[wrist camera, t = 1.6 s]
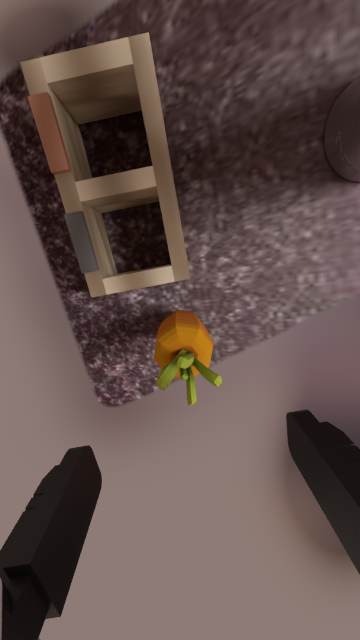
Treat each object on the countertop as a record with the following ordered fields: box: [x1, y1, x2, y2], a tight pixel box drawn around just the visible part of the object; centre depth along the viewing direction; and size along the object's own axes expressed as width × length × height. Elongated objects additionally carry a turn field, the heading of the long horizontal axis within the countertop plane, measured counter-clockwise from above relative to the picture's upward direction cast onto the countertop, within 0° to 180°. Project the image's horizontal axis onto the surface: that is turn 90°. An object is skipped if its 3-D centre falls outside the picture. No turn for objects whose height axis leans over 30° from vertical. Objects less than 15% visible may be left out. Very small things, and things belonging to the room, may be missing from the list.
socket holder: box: [20, 32, 190, 297], centre depth 21 cm, size 10×18×6 cm, turn 11°
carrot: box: [154, 310, 222, 405], centre depth 20 cm, size 5×5×15 cm
